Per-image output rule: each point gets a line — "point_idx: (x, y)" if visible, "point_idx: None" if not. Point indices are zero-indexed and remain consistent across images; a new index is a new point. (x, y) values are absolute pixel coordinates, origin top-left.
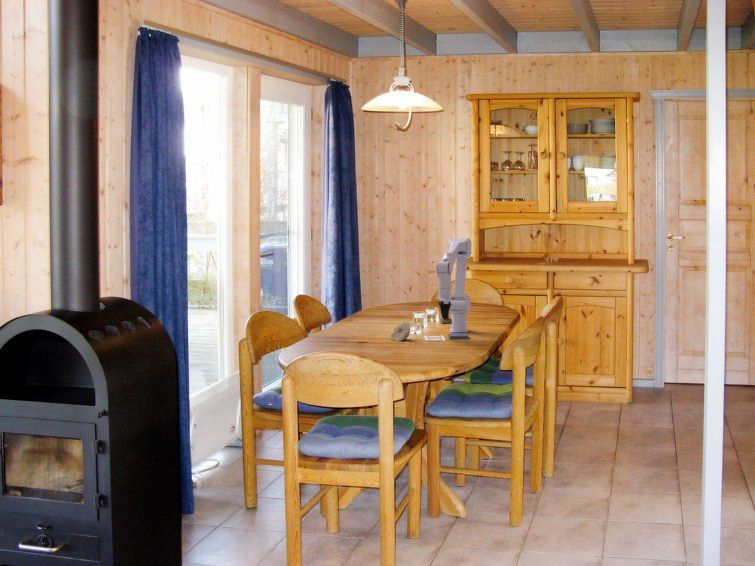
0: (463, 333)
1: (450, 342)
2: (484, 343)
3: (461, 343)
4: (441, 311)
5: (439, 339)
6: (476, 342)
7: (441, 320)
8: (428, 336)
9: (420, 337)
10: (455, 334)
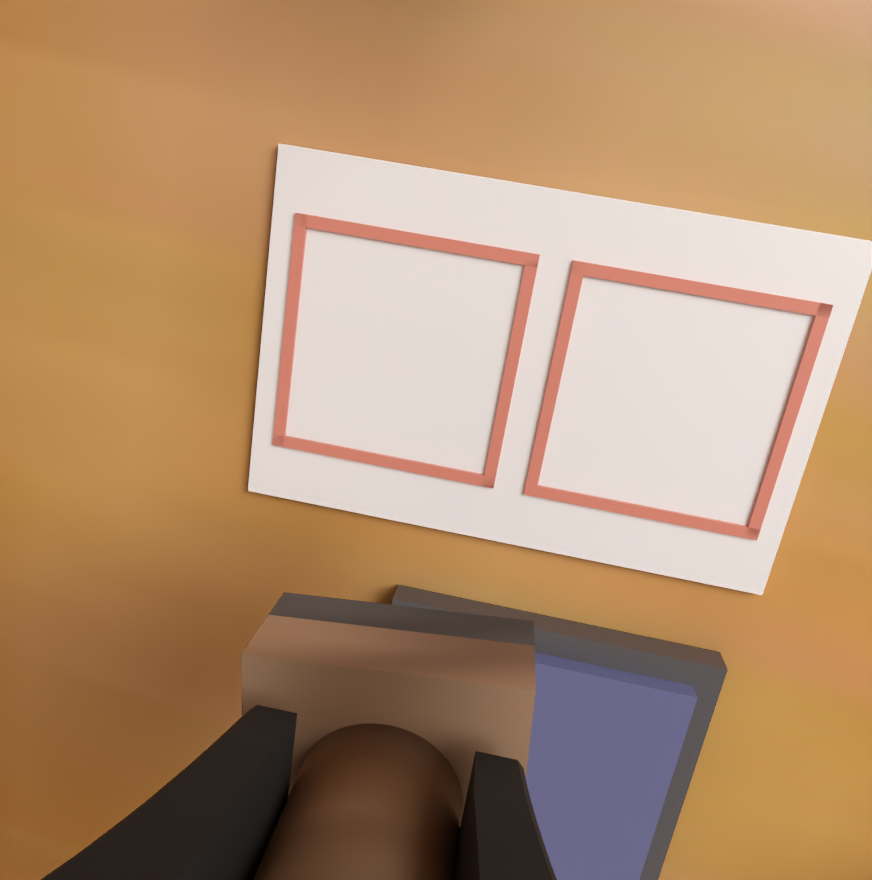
0: (603, 878)
1: (117, 515)
2: (5, 869)
3: (24, 630)
4: (138, 858)
5: (363, 420)
6: (82, 817)
7: (372, 652)
8: (739, 312)
9: (741, 138)
10: (546, 747)
